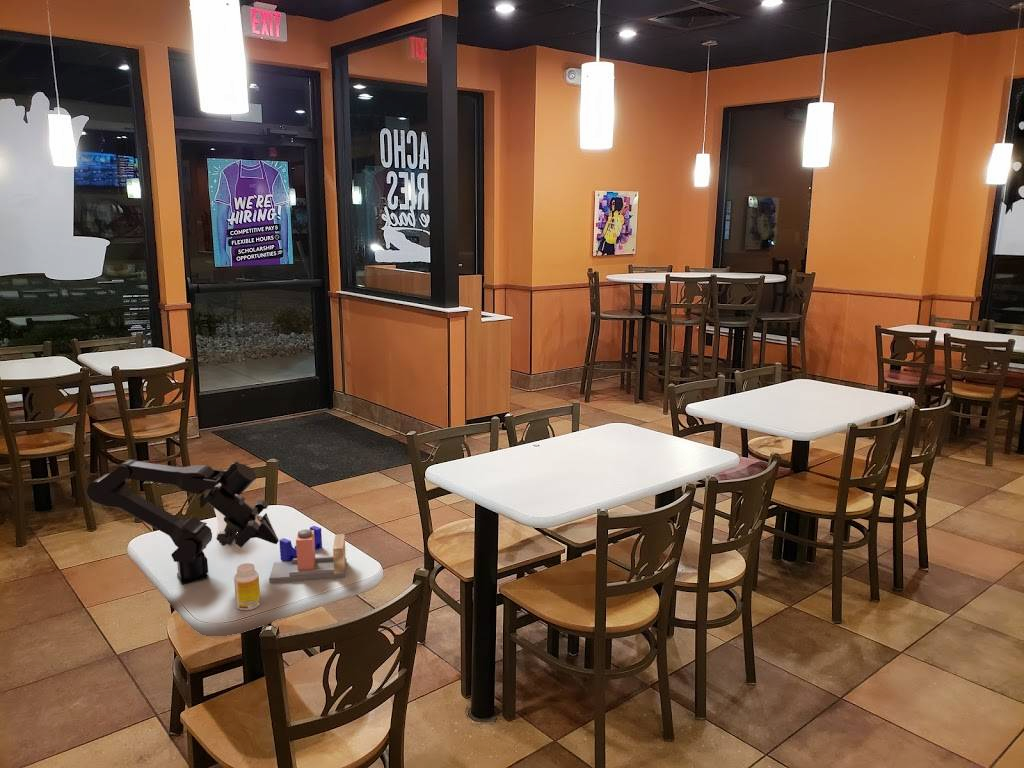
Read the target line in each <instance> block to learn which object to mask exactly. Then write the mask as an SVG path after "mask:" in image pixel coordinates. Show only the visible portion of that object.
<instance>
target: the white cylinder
mask: <svg viewBox="0 0 1024 768" xmlns="http://www.w3.org/2000/svg"><path fill="white" fill-rule="evenodd" d="M220 485H221V484H220V483H218V484H217V485H216V486H215V487H219V486H220ZM236 495H237V494H236ZM237 496H238V495H237ZM238 497H239V496H238ZM213 510H214V513H215V515H216V521H217V528H216V534H217V535H218V534H219V532H220V531H224V530H225V528H226V525H227V523H226V522H225V521H224V517H225V516H224V515H223V514H221V513H220V512H219V511H218V510H216V509H215V508H214V507H213Z"/></svg>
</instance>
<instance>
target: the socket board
mask: <svg viewBox="0 0 1024 768" xmlns="http://www.w3.org/2000/svg"><path fill="white" fill-rule="evenodd" d="M315 557H316V562H315V567H314V570H300V571H298V566H297V558H294V559H293V560H292V561H290V562H285V561H279V562H273V564H272V569H271V571H270V574H269V579H268V580H269V583H281V582H283V583H284V582H294V581H295V582H296V581H310V580H323V579H322V578H328V579H334V578H333V577H343V578H346V572H347V571H346V570H347V564H348V563H347V560H348V559H347V558H346V560H345V568H344V573H339V574H334V561H333V555H329V556H328V555H327V556H315ZM330 577H331V578H330Z"/></svg>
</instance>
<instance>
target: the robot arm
mask: <svg viewBox="0 0 1024 768" xmlns="http://www.w3.org/2000/svg"><path fill="white" fill-rule="evenodd" d="M128 480H136V481H142V482H150V483H156V484H163V485H170V486H171V485H172V486H175V487H176V488H178V489H180V490H181V491H183V492H187V493H188V494H189V493H190V494H193V495H200V496H199V497H198V499H199V508H201V509H203V507H205V506H206V505H207V504H208V505H210V506H211V507H212V508H213V509H214V508H215V509H216V510H218V511H219V512H220V513H221V514H223V515H224V516H225V517H224V521H225V522H226V523H227V525H226V528H225V530H224V531H220V532H219V534H217V535H216V540H217V541H218V543H219V544H220V545H221V546H222V547H224V546H227V545H228V546H230V547H231V546H233V543H234V544H235V545H236V546H237V547H239V548H240V549H241V548H243V547H244V546H245V545H246V544H247V542H249V541H250V540H251V539H255V538H257V539H259V540H263V541H266V542H268V543H270V544H273V545H277V544H278V543H279V540H280V539H279V538H278V536H277V534H276V532H275V530H274V528H273V525H272V523H271V520H270V518H269V515H268V514H267V512H266V513H264V515H263V516H262V515H261V514H260V513H262V512H263V511H264V510H267V508H268V507H269V503H268V502H267V501H266V500H264V499H258V500H257V501H256V502H255V503H254V504H253V505H252V506H250V505H249V504H248V503H247V502H245V501H246V498H245V497H244V496H241V497H239V496H240V495H241V494H242V493H243V492H244V491H246V490H247V488H248V487H249V486H250V485H252V484H253V482H254V481H255V480H257V475H256V472H255V471H254V470H253V468H252V467H250V466H248V465H246V464H244V463H240V462H238V460H235V461H234V462H233V463H232V464H231V465H230V466H229V468H227V470H221V469H214V468H212V467H211V466H209V465H205V464H202V465H201V464H199V465H198V464H197V465H189V466H180V467H179V466H172V465H165V464H159V463H153V462H152V463H151V462H145V461H137V460H136V459H128V460H126V461H124V462H122V463H121V464H119V465H118V466H117V468H116V469H114V470H113V471H112V472H110V473H105V474H103V475H102V476H100V477H98V478H97V479H95V480H94V481H92V482H90V483H89V484H88V485H87V487H86V494H87V498H88V500H90V501H91V502H93V503H96V504H98V505H101V506H103V507H107V508H117V509H120V510H122V511H124V512H125V513H127V514H130V515H131V516H133V517H134V518H137V519H138V520H140V521H142V522H144V523H146V524H147V525H149V526H152V527H153V528H154V529H157V530H158V531H160V532H162V533H164V534H166V535H167V536H168V537H170V539H171V541H172V543H173V544H174V545H175V546H176V547H177V548H176V549H175V550H174V551H173V552H172V553H171V554H170V555H171V558H172V560H173V562H175V563H176V564H177V573H176V576H177V578H178V580H179V581H180V583H181V585H185V584H186V585H187V584H189V583H194V582H198V581H201V580H205V579H208V578H209V574H208V573H209V564H208V558H207V556H206V554H205V552H204V550H205V549H206V548H207V546H208V545H209V543H211V541H212V539H213V532H212V529H211V528H210V527H209V526H208V525H207V524H208V523H207V522H204V521H201V520H200V519H198V518H197V517H195V516H193V515H192V516H191V517H190V518H189V519H181V518H179V517H177V516H176V515H174V514H172V513H170V512H168V511H167V510H165V509H163V508H162V507H160V506H158V505H156V504H154V503H153V502H151V501H149V500H147V499H145V498H144V497H142V496H140V495H138V494H137V493H135V492H133V490H132V489H131V488H130V486H129V485H128V483H127V481H128ZM218 483H220V484H221V485H220V486H219V487H215V486H216V485H217V484H218ZM207 490H209V491H207ZM205 491H207V492H206V493H204V492H205ZM236 494H237V495H239V496H237V495H236ZM237 532H238V533H237Z"/></svg>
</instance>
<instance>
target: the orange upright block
mask: <svg viewBox="0 0 1024 768" xmlns="http://www.w3.org/2000/svg"><path fill="white" fill-rule="evenodd" d="M295 546H296V550H297V566H298V571H300V570H314V567H315V562H316V557H317V556H316V550H315V539H314V530H310V529H302V530H298V531H297V534H296V538H295Z"/></svg>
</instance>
